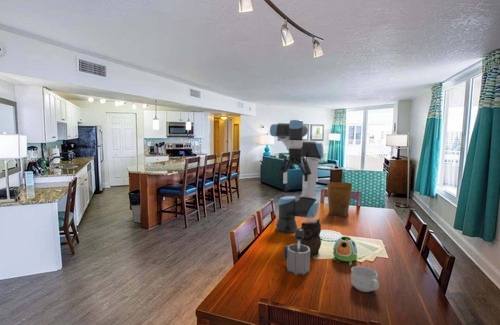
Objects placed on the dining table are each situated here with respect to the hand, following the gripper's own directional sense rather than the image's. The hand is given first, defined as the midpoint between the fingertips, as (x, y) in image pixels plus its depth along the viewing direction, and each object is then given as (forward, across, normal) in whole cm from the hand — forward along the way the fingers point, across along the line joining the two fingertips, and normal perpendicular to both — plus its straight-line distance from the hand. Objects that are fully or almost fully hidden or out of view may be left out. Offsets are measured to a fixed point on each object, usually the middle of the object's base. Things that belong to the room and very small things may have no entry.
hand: (294, 185), depth 156 cm
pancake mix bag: (+39, -16, +82) cm, 92 cm away
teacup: (+39, +47, -9) cm, 62 cm away
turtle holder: (+39, +26, +13) cm, 48 cm away
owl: (+39, +8, +4) cm, 40 cm away
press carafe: (+38, +14, -16) cm, 44 cm away
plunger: (+37, +16, -16) cm, 44 cm away
